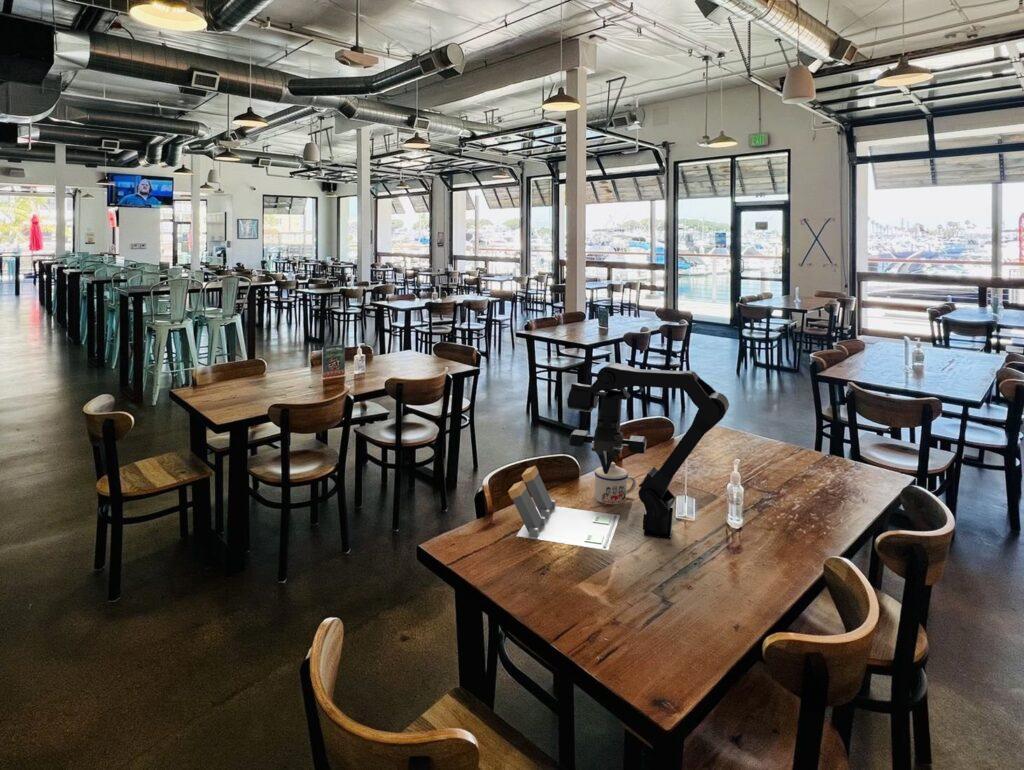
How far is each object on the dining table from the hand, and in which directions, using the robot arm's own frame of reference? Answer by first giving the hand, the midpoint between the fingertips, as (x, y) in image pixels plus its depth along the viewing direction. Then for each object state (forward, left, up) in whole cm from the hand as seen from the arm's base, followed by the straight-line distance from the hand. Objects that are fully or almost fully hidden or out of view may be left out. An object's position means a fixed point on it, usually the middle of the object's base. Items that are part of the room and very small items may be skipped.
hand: (605, 473), depth 163 cm
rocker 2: (+14, +14, -12) cm, 23 cm away
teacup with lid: (-1, -13, -13) cm, 19 cm away
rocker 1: (+14, +3, -12) cm, 18 cm away
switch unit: (+7, +9, -13) cm, 17 cm away
